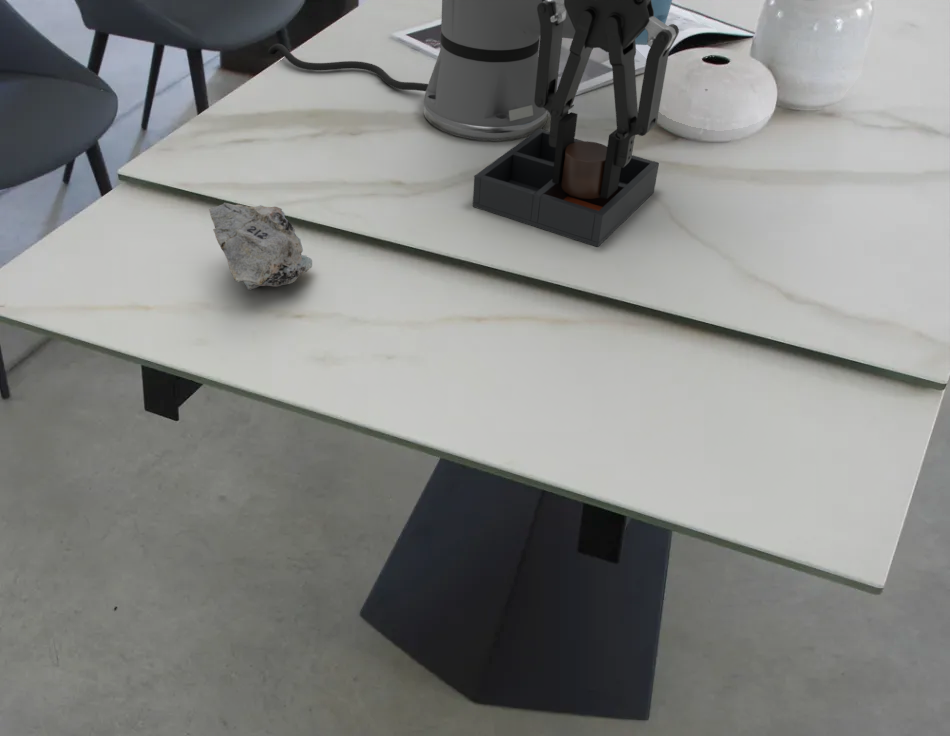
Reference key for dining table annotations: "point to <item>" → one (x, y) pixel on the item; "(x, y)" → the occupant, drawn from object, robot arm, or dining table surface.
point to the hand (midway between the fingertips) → (584, 185)
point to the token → (584, 169)
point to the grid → (558, 192)
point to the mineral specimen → (259, 245)
